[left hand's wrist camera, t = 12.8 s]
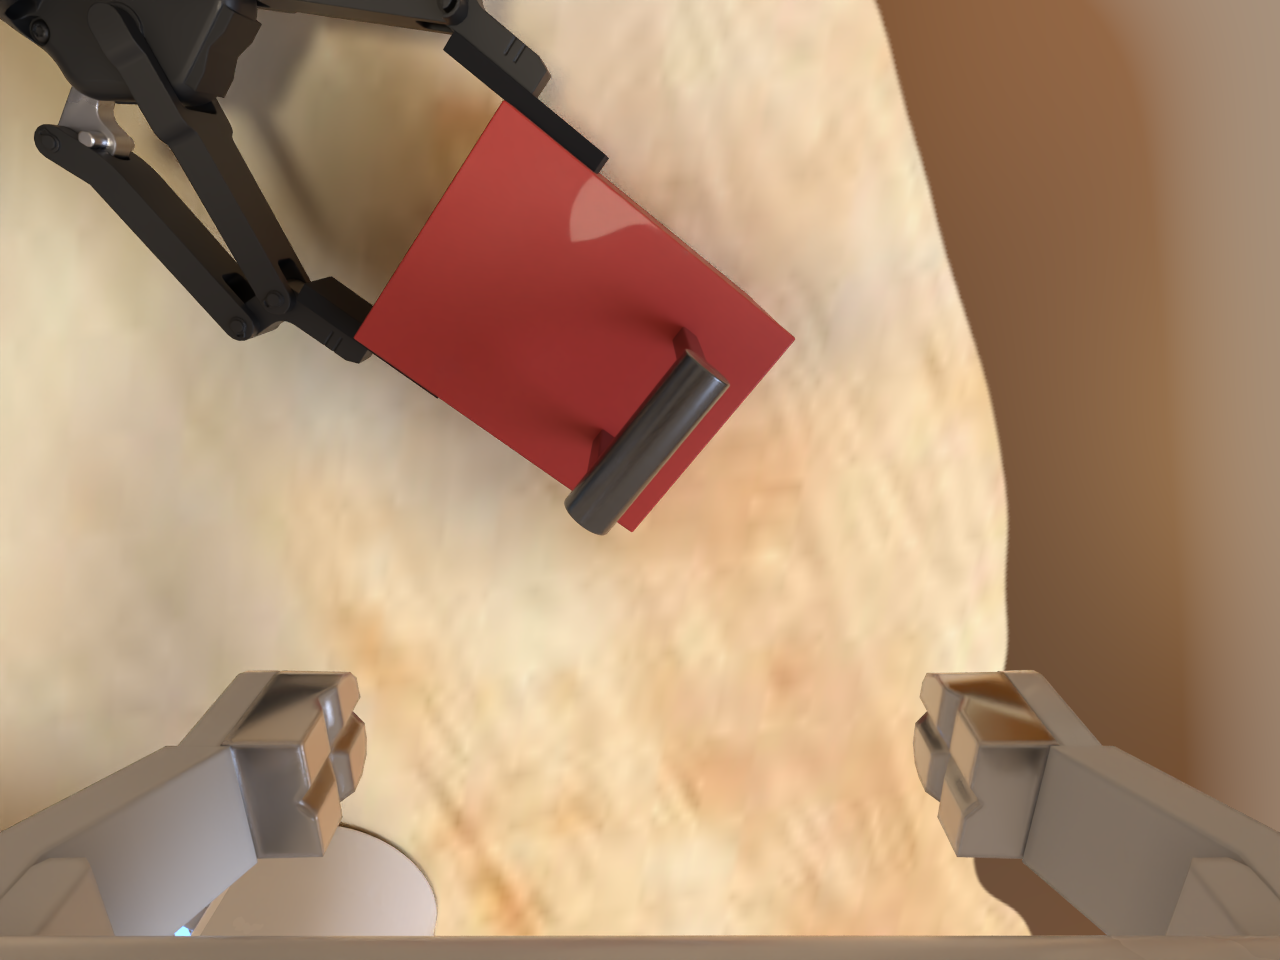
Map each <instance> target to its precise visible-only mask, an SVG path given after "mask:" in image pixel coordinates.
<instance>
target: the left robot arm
mask: <svg viewBox="0 0 1280 960" xmlns="http://www.w3.org/2000/svg"><path fill="white" fill-rule="evenodd" d="M359 699H360V693H359V688H358V683H357V678H356V677H355V676H354V675H353V674H352V673H351V672H321V671H246V672H243V673H240V674H238V675H237V676H236V678H235V679H234V680H233V681H232V682H231V683H230V685H229V686H228V687H227V688H226V689H225V691H224V692H223V693H222V694H221V695H220V696H219V698H218V699H217V700H216V701H215V702H214V703H213V705H212V706H211V707H210V708H209V709H208V711H207V712H206V713H205V714H204V715H203V716H202V718H201V719H200V720H199V721H198V722H197V724H196V725H195V726H194V727H193V728H192V729H191V731H190V732H189V733H188V734H187V735H186V737H185V738H184V739H183V740H182V741H181V742H180V744H179V745H178V746H165V747H163V748H161V749H159V750H158V751H156V752H154V753H152V754H150V755H148V756H146V757H144V758H142V759H140V760H138V761H136V762H134V763H133V764H131V765H129V766H127V767H125V768H123V769H121V770H119V771H117V772H115V773H113V774H111V775H109V776H108V777H106V778H104V779H102V780H100V781H98V782H96V783H94V784H92V785H90V786H88V787H86V788H84V789H83V790H81V791H79V792H77V793H75V794H73V795H71V796H69V797H67V798H65V799H63V800H61V801H60V802H58V803H56V804H54V805H52V806H50V807H48V808H46V809H44V810H42V811H40V812H38V813H36V814H35V815H33V816H31V817H29V818H27V819H25V820H23V821H21V822H19V823H17V824H15V825H13V826H11V827H10V828H8V829H6V830H4V831H2V832H0V960H1280V832H1278V831H1276V830H1274V829H1272V828H1270V827H1268V826H1266V825H1264V824H1262V823H1260V822H1259V821H1257V820H1255V819H1253V818H1251V817H1249V816H1247V815H1245V814H1243V813H1241V812H1239V811H1237V810H1236V809H1234V808H1232V807H1230V806H1228V805H1226V804H1224V803H1222V802H1220V801H1218V800H1216V799H1214V798H1212V797H1211V796H1209V795H1207V794H1205V793H1203V792H1201V791H1199V790H1197V789H1195V788H1193V787H1191V786H1190V785H1188V784H1186V783H1184V782H1182V781H1180V780H1178V779H1176V778H1174V777H1172V776H1170V775H1168V774H1167V773H1165V772H1163V771H1161V770H1159V769H1157V768H1155V767H1153V766H1151V765H1149V764H1147V763H1145V762H1143V761H1142V760H1140V759H1138V758H1136V757H1134V756H1132V755H1130V754H1128V753H1126V752H1124V751H1122V750H1120V749H1119V748H1117V747H1115V746H1102V745H1101V744H1100V742H1099V741H1098V740H1097V739H1096V738H1095V737H1094V735H1093V734H1092V733H1091V732H1090V731H1089V730H1088V728H1087V727H1086V726H1085V725H1084V724H1083V722H1082V721H1081V720H1080V719H1079V718H1078V717H1077V715H1076V714H1075V713H1074V712H1073V711H1072V709H1071V708H1070V707H1069V706H1068V705H1067V704H1066V702H1065V701H1064V700H1063V699H1062V698H1061V697H1060V695H1059V694H1058V693H1057V692H1056V691H1055V689H1054V688H1053V687H1052V686H1051V685H1050V684H1049V682H1048V681H1047V680H1046V679H1045V678H1044V676H1043V675H1041V674H1040V673H1038V672H1036V671H1034V670H1020V671H998V672H966V673H927V674H926V676H925V678H924V680H923V682H922V687H921V693H920V699H921V700H922V702H923V704H924V706H925V708H926V710H927V712H926V713H925V714H924V715H923V716H922V717H921V718H920V719H919V720H918V721H917V722H916V723H915V731H914V739H913V748H914V759H915V765H916V769H917V772H918V776H919V779H920V781H921V783H922V785H923V787H924V790H925V792H927V793H928V794H929V795H931V796H932V797H934V798H935V799H936V800H938V801H939V802H940V805H939V811H938V819H939V821H940V823H941V825H942V827H943V829H944V831H945V833H946V835H947V837H948V839H949V842H950V844H951V846H952V848H953V850H954V852H955V854H956V856H957V857H980V858H1015V859H1023V860H1022V862H1023V863H1024V864H1025V865H1026V866H1028V867H1029V868H1030V869H1031V870H1032V871H1033V872H1035V873H1036V874H1037V875H1038V876H1039V877H1040V878H1042V879H1043V880H1044V881H1045V882H1046V883H1047V884H1049V885H1050V886H1051V887H1052V888H1053V889H1054V890H1055V891H1057V892H1058V893H1059V894H1060V895H1061V896H1062V897H1064V898H1065V899H1066V900H1067V901H1068V902H1069V903H1071V904H1072V905H1073V906H1074V907H1075V908H1076V909H1078V910H1079V911H1080V912H1081V913H1082V914H1083V915H1085V916H1086V917H1087V918H1088V919H1089V920H1090V921H1091V922H1093V923H1094V924H1095V925H1096V926H1097V927H1098V928H1100V929H1101V930H1102V931H1103V932H1104V933H1105V934H1107V935H1108V936H434V930H435V925H436V918H437V908H436V901H435V897H434V894H433V891H432V889H431V887H430V885H429V883H428V881H427V879H426V878H425V876H424V875H423V873H422V872H421V871H420V870H419V868H418V867H417V866H416V865H415V864H414V863H413V862H412V861H411V860H410V859H409V858H408V857H406V856H405V855H404V854H403V853H401V852H400V851H399V850H397V849H396V848H394V847H393V846H391V845H389V844H388V843H386V842H384V841H382V840H380V839H378V838H376V837H373V836H371V835H369V834H366V833H363V832H360V831H357V830H353V829H350V828H345V827H340V826H338V825H339V823H340V821H341V819H342V811H341V805H340V802H341V801H342V800H344V799H345V798H346V797H348V796H349V795H351V794H352V793H353V792H355V790H356V787H357V785H358V783H359V781H360V779H361V776H362V773H363V768H364V763H365V759H366V748H367V737H366V730H365V723H364V722H363V721H362V720H361V719H360V718H359V717H358V716H357V715H356V714H355V713H354V712H353V710H354V708H355V706H356V704H357V702H358V701H359Z"/></svg>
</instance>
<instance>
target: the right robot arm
mask: <svg viewBox="0 0 1280 960" xmlns="http://www.w3.org/2000/svg"><path fill="white" fill-rule="evenodd" d="M257 8H259V9H265V10H272V11H279V12H286V13H296V12H301V13H308V14H315V15H321V16H328V17H335V18H342V19H349V20H355V21H362V22H369V23H376V24H383V25H389V26H396V27H403V28H410V29H417V30H423V31H430V32H437V33H444V34H451V37H450V39H449V40H448V42H447V44H446V46H445V47H444V49H443V50H444V51H445V52H446V53H448V54H449V55H450V56H451V57H453V58H454V59H455V60H456V61H457V62H459V63H460V64H461V65H462V66H464V67H465V68H466V69H467V70H468V71H470V72H471V73H472V74H473V75H475V76H476V77H477V78H478V79H479V80H481V81H482V82H483V83H484V84H486V85H487V86H488V87H489V88H490V89H492V90H493V91H494V92H495V93H497V94H498V95H499V96H500V97H501V98H503V99H504V100H505V101H507V102H508V103H509V104H511V105H512V106H514V107H515V108H516V109H518V110H519V111H520V112H521V113H522V114H524V115H525V116H526V117H527V118H528V119H530V120H531V121H532V122H533V123H535V124H536V125H537V126H538V127H539V128H541V129H542V130H543V131H544V132H546V133H547V134H548V135H549V136H550V137H552V138H553V139H554V140H555V141H557V142H558V143H559V144H560V145H561V146H563V147H564V148H565V149H566V150H568V151H569V152H570V153H571V154H572V155H574V156H575V157H576V158H577V159H579V160H580V161H581V162H582V163H583V164H585V165H586V166H587V167H588V168H589V169H591V170H592V171H593V172H595V173H597V174H598V173H599V172H600V170H601V169H602V167H603V166H604V164H605V163H606V162H607V160H608V159H609V158H608V157H607V156H606V155H605V154H604V153H603V152H601V151H600V150H599V149H598V148H597V147H595V146H594V145H593V144H592V143H590V142H589V141H588V140H587V139H586V138H584V137H583V136H582V135H581V134H580V133H578V132H577V131H576V130H575V129H574V128H572V127H571V126H570V125H569V124H568V123H566V122H565V121H564V120H563V119H561V118H560V117H559V116H558V115H557V114H555V113H554V112H553V111H552V110H551V109H549V108H548V107H547V106H546V105H545V104H543V103H542V102H541V101H540V100H539V99H537V98H538V96H539V95H540V93H541V92H542V90H543V89H544V87H545V86H546V84H547V82H548V81H549V79H550V78H551V75H550V73H549V71H548V70H547V68H546V66H545V64H544V62H543V61H542V60H541V58H540V57H539V56H538V55H537V54H536V53H535V52H533V51H532V50H531V49H530V48H529V47H528V46H526V45H525V44H524V43H523V42H522V41H520V40H519V39H518V38H517V37H516V36H514V35H513V34H512V33H511V32H510V31H509V30H507V29H506V28H505V27H504V26H503V25H501V24H500V23H499V22H498V21H497V20H495V19H494V18H493V17H492V16H491V15H490V14H488V13H487V12H486V11H485V9H484V6H483V2H482V0H0V19H1V20H2V21H4V22H5V23H7V24H8V25H9V26H11V27H12V28H14V29H15V30H16V31H18V32H19V33H21V34H22V35H23V36H25V37H26V38H28V39H29V40H31V41H32V42H34V43H35V44H37V45H38V46H40V47H41V48H42V49H44V50H45V51H46V52H47V53H48V54H49V55H50V56H51V57H52V58H53V60H54V61H55V62H56V63H57V65H58V66H59V68H60V69H61V71H62V73H63V74H64V76H65V78H66V79H67V80H68V82H69V83H70V84H71V85H72V88H71V90H70V93H69V96H68V99H67V101H66V104H65V107H64V110H63V113H62V115H61V118H60V121H59V124H58V125H50V124H43V125H41V126H39V127H38V128H37V129H36V131H35V134H34V141H35V145H36V147H37V148H38V150H39V151H40V153H42V154H43V155H44V156H45V157H46V158H48V159H50V160H51V161H53V162H54V163H56V164H58V165H59V166H61V167H63V168H64V169H66V170H67V171H69V172H71V173H72V174H74V175H75V176H77V177H79V178H80V179H82V180H84V181H85V182H87V183H88V184H90V185H91V186H92V187H93V188H94V189H95V190H96V192H97V193H98V194H99V195H100V196H101V197H102V198H103V199H104V200H105V201H106V202H107V203H108V205H109V206H110V207H111V208H112V209H113V210H114V211H115V212H116V213H117V214H118V215H119V217H120V218H121V219H122V220H123V221H124V222H125V223H126V224H127V225H128V226H129V227H130V229H131V230H132V231H133V232H134V233H135V234H136V235H137V236H138V237H139V238H140V239H141V241H142V242H143V243H144V244H145V245H146V246H147V247H148V248H149V249H150V250H151V251H152V253H153V254H154V255H155V256H156V257H157V258H158V259H159V260H160V261H161V262H162V263H163V264H164V266H165V267H166V268H167V269H168V270H169V271H170V272H171V273H172V274H173V275H174V276H175V278H176V279H177V280H178V281H179V282H180V283H181V284H182V285H183V286H184V287H185V288H186V290H187V291H188V292H189V293H190V294H191V295H192V296H193V297H194V298H195V299H196V300H197V302H198V303H199V304H200V305H201V306H202V307H203V308H204V309H205V310H206V311H207V312H208V314H209V315H210V316H211V317H212V318H213V319H214V320H215V321H216V322H217V323H218V324H219V325H220V327H221V328H222V329H223V330H224V331H225V332H226V333H227V334H228V335H229V336H230V337H232V338H233V339H235V340H238V341H245V340H248V339H250V338H253V337H256V336H259V335H261V334H264V333H267V332H269V331H272V330H274V329H276V328H277V327H278V326H279V325H280V324H281V323H282V322H284V321H287V322H290V323H292V324H294V325H296V326H297V327H299V328H300V329H301V330H303V331H304V332H306V333H307V334H309V335H310V336H312V337H313V338H314V339H316V340H317V341H319V342H320V343H322V344H323V345H325V346H326V347H328V348H329V349H330V350H332V351H334V352H335V353H336V354H338V355H339V356H341V357H342V358H343V359H345V360H347V361H351V362H355V363H358V364H359V363H361V362H362V361H364V360H366V359H367V358H369V357H371V355H372V353H373V354H374V355H376V356H377V357H379V358H380V359H382V360H383V361H384V362H386V363H387V364H389V365H390V366H392V367H393V368H394V369H396V370H397V371H399V372H400V373H402V374H403V375H404V376H406V377H407V378H409V379H410V380H412V381H413V382H414V383H416V384H417V385H419V386H420V387H422V388H423V389H424V390H426V391H427V392H429V393H430V394H432V395H433V396H434V397H436V398H438V397H437V396H436V395H434V394H433V393H431V392H430V391H428V390H427V389H426V388H424V387H423V386H421V385H420V384H418V383H417V382H416V381H414V380H413V379H411V378H410V377H408V376H407V375H406V374H404V373H403V372H401V371H400V370H398V369H397V368H396V367H394V366H393V365H391V364H390V363H388V362H387V361H385V360H384V359H383V358H381V357H380V356H378V355H377V354H375V353H374V352H373V351H371V350H370V349H368V348H367V347H365V346H364V345H363V344H361V343H360V342H358V341H357V340H355V339H354V336H355V334H356V333H357V331H358V329H359V328H360V326H361V325H362V323H363V322H364V320H365V318H366V317H367V315H368V314H369V312H370V310H371V309H372V307H373V306H372V305H371V304H370V303H368V302H367V301H365V300H364V299H363V298H361V297H360V296H358V295H357V294H356V293H354V292H353V291H351V290H350V289H349V288H347V287H346V286H344V285H343V284H342V283H340V282H339V281H337V280H336V279H335V278H333V277H332V276H331V277H327V278H324V279H320V280H316V281H312V282H311V281H310V279H309V277H308V276H307V274H306V272H305V270H304V268H303V267H302V265H301V263H300V261H299V259H298V257H297V256H296V254H295V252H294V250H293V248H292V247H291V245H290V243H289V241H288V239H287V237H286V236H285V234H284V232H283V230H282V228H281V227H280V225H279V223H278V221H277V219H276V218H275V216H274V214H273V212H272V210H271V208H270V207H269V205H268V203H267V201H266V199H265V198H264V196H263V194H262V192H261V190H260V188H259V187H258V185H257V183H256V181H255V179H254V178H253V176H252V174H251V172H250V170H249V168H248V167H247V165H246V163H245V161H244V159H243V158H242V156H241V154H240V152H239V150H238V148H237V147H236V145H235V143H234V141H233V139H232V134H233V131H232V127H231V125H230V123H229V121H228V119H227V118H226V116H225V114H224V112H223V110H222V108H221V107H220V105H219V103H218V101H217V99H216V97H217V96H219V97H223V98H224V97H225V95H226V93H227V91H228V89H229V87H230V85H231V83H232V81H233V78H234V73H235V68H236V63H237V58H238V57H239V56H240V55H241V54H242V53H243V52H244V51H245V50H246V48H247V47H248V46H249V45H250V44H251V43H252V42H253V40H254V38H255V36H256V34H257V32H258V30H259V28H260V26H261V23H259V22H258V21H257V20H256V17H257ZM115 103H117V104H138V106H139V108H140V110H141V111H142V113H143V115H144V116H145V118H146V120H147V122H148V123H149V125H150V127H151V128H152V130H153V131H154V133H155V134H156V135H157V136H158V138H159V139H160V140H162V141H163V142H164V143H166V144H167V145H168V146H169V147H170V148H171V150H172V151H173V153H174V155H175V156H176V158H177V160H178V162H179V163H180V165H181V167H182V168H183V170H184V172H185V174H186V175H187V177H188V179H189V181H190V182H191V184H192V186H193V187H194V189H195V191H196V193H197V194H198V196H199V198H200V200H201V201H202V203H203V205H204V206H205V208H206V210H207V212H208V213H209V215H210V217H211V218H212V220H213V222H214V224H215V225H216V227H217V229H218V231H219V232H220V234H221V236H222V237H223V239H224V241H225V243H226V244H227V246H228V248H229V250H230V251H231V253H232V255H233V256H234V258H235V260H236V261H235V260H234V259H233V258H232V257H231V256H230V255H229V253H228V252H227V251H226V250H225V249H224V248H223V247H222V245H221V244H220V243H219V242H218V241H217V240H216V239H215V238H214V236H213V235H212V234H211V233H210V232H209V231H208V230H207V229H206V227H205V226H204V225H203V224H202V223H201V222H200V221H199V219H198V218H197V217H196V216H195V215H194V214H193V213H192V212H191V210H190V209H189V208H188V207H187V206H186V205H185V204H184V202H183V201H182V200H181V199H180V198H179V197H178V196H177V195H176V193H175V192H174V191H173V190H172V189H171V188H170V187H169V186H168V184H167V183H166V182H165V181H164V180H163V179H162V178H161V177H160V175H159V174H158V173H157V172H156V171H155V170H154V169H153V168H152V167H151V166H149V165H148V164H147V163H146V162H145V161H144V160H142V159H141V158H140V157H138V156H137V155H136V154H134V153H133V152H131V151H132V150H133V149H134V146H135V144H134V141H133V139H132V138H131V137H129V136H128V135H127V133H126V132H125V131H124V130H123V129H122V128H121V127H120V126H119V125H118V123H117V122H116V120H115V117H114V111H113V109H114V105H115ZM237 263H238V264H237Z"/></svg>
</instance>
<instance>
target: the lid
mask: <svg viewBox="0 0 1280 960" xmlns="http://www.w3.org/2000/svg"><path fill="white" fill-rule="evenodd" d="M354 339H355V340H357V341H358V342H360V343H361V344H363V345H364V346H365V347H367V348H368V349H370V350H371V351H373V352H374V353H375V354H377V355H378V356H380V357H381V358H383V359H384V360H385V361H387V362H388V363H390V364H391V365H393V366H394V367H396V368H397V369H398V370H400V371H401V372H403V373H404V374H406V375H407V376H408V377H410V378H411V379H413V380H414V381H416V382H417V383H418V384H420V385H421V386H423V387H424V388H426V389H427V390H428V391H430V392H431V393H433V394H434V395H436V396H437V397H439V398H440V399H441V400H443V401H444V402H446V403H447V404H449V405H450V406H451V407H453V408H454V409H456V410H457V411H459V412H460V413H461V414H463V415H464V416H466V417H467V418H469V419H470V420H471V421H473V422H474V423H476V424H477V425H479V426H480V427H482V428H483V429H484V430H486V431H487V432H489V433H490V434H492V435H493V436H494V437H496V438H497V439H499V440H500V441H502V442H503V443H504V444H506V445H507V446H509V447H510V448H512V449H513V450H514V451H516V452H517V453H519V454H520V455H522V456H523V457H525V458H526V459H527V460H529V461H530V462H532V463H533V464H535V465H536V466H537V467H539V468H540V469H542V470H543V471H545V472H546V473H547V474H549V475H550V476H552V477H553V478H555V479H556V480H557V481H559V482H560V483H562V484H563V485H565V486H566V487H568V488H569V489H570V490H572V492H571V493H570V494H569V495H568V497H567V498H566V499H565V502H564V505H565V508H566V510H567V511H568V513H569V514H570V516H571V517H572V518H573V519H574V520H575V521H576V522H577V523H578V524H580V525H581V526H582V527H584V528H585V529H587V530H588V531H590V532H592V533H594V534H597V535H605V534H607V533H608V532H609V531H610V530H611V528H612V527H613V526H614V525H615V524H616V522H618V523H619V524H621V525H622V526H623V527H625V528H626V529H628V530H629V531H631V532H633V531H634V530H635V529H636V527H637V526H638V525H639V524H640V523H641V522H642V520H643V519H644V518H645V517H646V516H647V514H648V513H649V512H650V511H651V510H652V509H653V507H654V506H655V505H656V504H657V503H658V501H659V500H660V499H661V498H662V497H663V496H664V494H665V493H666V492H667V491H668V490H669V488H670V487H671V486H672V485H673V484H674V482H675V481H676V480H677V479H678V478H679V477H680V475H681V474H682V473H683V472H684V471H685V469H686V468H687V467H688V466H689V465H690V464H691V462H692V461H693V460H694V459H695V458H696V456H697V455H698V454H699V453H700V452H701V451H702V449H703V448H704V447H705V446H706V445H707V443H708V442H709V441H710V440H711V439H712V437H713V436H714V435H715V434H716V433H717V432H718V430H719V429H720V428H721V427H722V426H723V424H724V423H725V422H726V421H727V420H728V419H729V417H730V416H731V415H732V414H733V413H734V411H735V410H736V409H737V408H738V407H739V406H740V404H741V403H742V402H743V401H744V400H745V398H746V397H747V396H748V395H749V394H750V392H751V391H752V390H753V389H754V388H755V387H756V385H757V384H758V383H759V382H760V381H761V379H762V378H763V377H764V376H765V375H766V374H767V372H768V371H769V370H770V369H771V368H772V366H773V365H774V364H775V363H776V362H777V361H778V359H779V358H780V357H781V356H782V355H783V353H784V352H785V351H786V350H787V349H788V348H789V346H790V345H791V344H792V343H793V342H794V340H795V337H793V336H792V335H791V334H790V333H789V332H788V331H786V330H785V329H784V328H783V327H782V326H780V325H779V324H778V323H777V322H775V321H774V320H773V319H772V318H771V317H769V316H768V315H767V314H766V313H765V312H763V311H762V310H761V309H760V308H758V307H757V306H756V305H755V304H754V303H752V302H751V301H750V300H749V299H747V298H746V297H745V296H744V295H743V294H741V293H740V292H739V291H738V290H736V289H735V288H734V287H733V286H732V285H730V284H729V283H728V282H727V281H725V280H724V279H723V278H722V277H721V276H719V275H718V274H717V273H716V272H714V271H713V270H712V269H711V268H710V267H708V266H707V265H706V264H705V263H703V262H702V261H701V260H700V259H699V258H697V257H696V256H695V255H694V254H693V253H691V252H690V251H689V250H688V249H686V248H685V247H684V246H683V245H682V244H680V243H679V242H678V241H677V240H675V239H674V238H673V237H672V236H671V235H669V234H668V233H667V232H666V231H664V230H663V229H662V228H661V227H660V226H658V225H657V224H656V223H655V222H653V221H652V220H651V219H650V218H649V217H647V216H646V215H645V214H644V213H642V212H641V211H640V210H639V209H638V208H636V207H635V206H634V205H633V204H631V203H630V202H629V201H628V200H627V199H625V198H624V197H623V196H622V195H621V194H619V193H618V192H617V191H616V190H614V189H613V188H612V187H611V186H610V185H608V184H607V183H606V182H605V181H603V180H602V179H601V178H600V177H599V176H597V175H596V174H595V173H594V172H592V171H591V170H590V169H589V168H588V167H586V166H585V165H584V164H583V163H581V162H580V161H579V160H578V159H577V158H575V157H574V156H573V155H572V154H570V153H569V152H568V151H567V150H566V149H564V148H563V147H562V146H561V145H560V144H558V143H557V142H556V141H555V140H553V139H552V138H551V137H550V136H549V135H547V134H546V133H545V132H544V131H542V130H541V129H540V128H539V127H538V126H536V125H535V124H534V123H533V122H531V121H530V120H529V119H528V118H527V117H525V116H524V115H523V114H522V113H520V112H519V111H518V110H517V109H516V108H514V107H513V106H512V105H511V104H509V103H508V102H507V101H505V100H504V101H502V103H501V105H500V106H499V108H498V109H497V111H496V113H495V114H494V116H493V117H492V119H491V120H490V122H489V124H488V125H487V127H486V128H485V130H484V132H483V133H482V135H481V136H480V138H479V139H478V141H477V143H476V144H475V146H474V147H473V149H472V151H471V152H470V154H469V155H468V157H467V158H466V160H465V162H464V163H463V165H462V166H461V168H460V170H459V171H458V173H457V174H456V176H455V177H454V179H453V181H452V182H451V184H450V185H449V187H448V189H447V190H446V192H445V193H444V195H443V196H442V198H441V200H440V201H439V203H438V204H437V206H436V208H435V209H434V211H433V212H432V214H431V215H430V217H429V219H428V220H427V222H426V223H425V225H424V227H423V228H422V230H421V231H420V233H419V234H418V236H417V238H416V239H415V241H414V242H413V244H412V246H411V247H410V249H409V250H408V252H407V253H406V255H405V257H404V258H403V260H402V261H401V263H400V265H399V266H398V268H397V269H396V271H395V272H394V274H393V276H392V277H391V279H390V280H389V282H388V284H387V285H386V287H385V288H384V290H383V291H382V293H381V295H380V296H379V298H378V299H377V301H376V303H375V304H374V306H373V307H372V309H371V310H370V312H369V314H368V315H367V317H366V318H365V320H364V322H363V323H362V325H361V326H360V328H359V329H358V331H357V333H356V334H355V336H354Z"/></svg>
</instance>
